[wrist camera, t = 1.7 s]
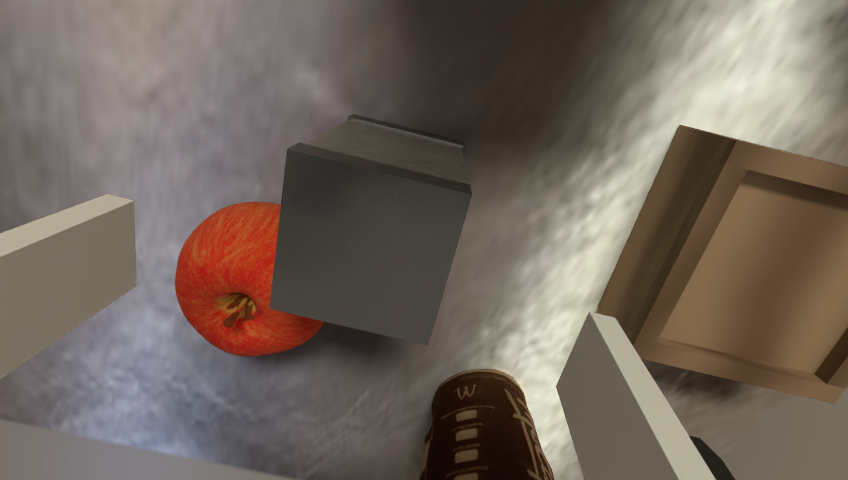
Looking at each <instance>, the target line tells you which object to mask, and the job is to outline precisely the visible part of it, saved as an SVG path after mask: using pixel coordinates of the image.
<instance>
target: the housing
mask: <svg viewBox="0 0 848 480" xmlns="http://www.w3.org/2000/svg"><path fill="white" fill-rule="evenodd" d="M463 149H464V142H462V141H458V140H454V139H450V138H446V137H442V136H438V135H434V134H430V133H426V132H422V131H418V130H414V129H410V128H406V127H402V126H398V125H394V124H390V123H386V122H382V121H378V120H374V119H370V118H366V117H362V116H358V115H354V114H353V115H351V116H349V117H348V121H346V122H344V123H343V124H341V125H339V126H337V127H335V128H334V129H332V130H330V131H328V132H327V133H325V134H323V135H321V136H319V137H318V138H316V139H314V140H312V141H310V142H309V143H307V144H303V143H298V144H296V145H294V146H292V147H290V148H288V149H287V156H286V165H285V174H284V183H283V191H282V200H281V209H280V218H279V226H278V235H277V244H276V253H275V261H274V270H273V279H272V288H271V296H270V305H269V309H273V310H277V311H281V312H286V313H290V314H294V315H298V316H303V317H307V318H311V319H316V320H320V321H324V322H328V323H333V324H337V325H341V326H346V327H350V328H354V329H358V330H363V331H367V332H371V333H376V334H380V335H384V336H389V337H393V338H397V339H401V340H406V341H410V342H414V343H419V344H423V345H427V346H428V344H429V341H430V337H431V334H432V330H433V327H434V323H435V320H436V316H437V313H438V310H439V306H440V303H441V299H442V296H443V292H444V289H445V285H446V282H447V279H448V275H449V272H450V268H451V265H452V261H453V258H454V254H455V251H456V248H457V244H458V241H459V237H460V234H461V230H462V227H463V224H464V220H465V217H466V213H467V210H468V206H469V203H470V199H471V196H472V192H471V186H470V185H469V184H466V176H465V168H464V160H463Z"/></svg>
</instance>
